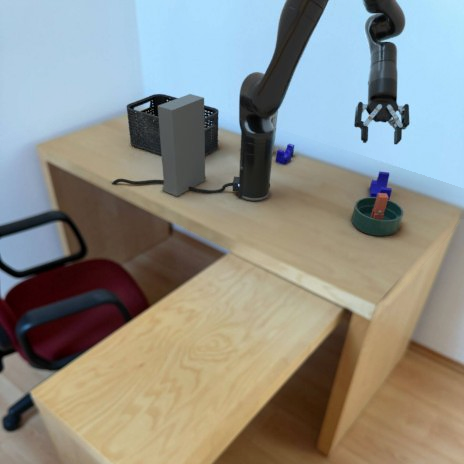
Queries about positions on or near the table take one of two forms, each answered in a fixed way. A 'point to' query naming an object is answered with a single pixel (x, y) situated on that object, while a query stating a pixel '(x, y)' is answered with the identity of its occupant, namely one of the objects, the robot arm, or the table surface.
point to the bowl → (376, 226)
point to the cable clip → (380, 185)
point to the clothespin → (379, 206)
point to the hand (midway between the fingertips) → (381, 142)
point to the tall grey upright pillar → (182, 143)
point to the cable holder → (285, 154)
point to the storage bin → (147, 130)
